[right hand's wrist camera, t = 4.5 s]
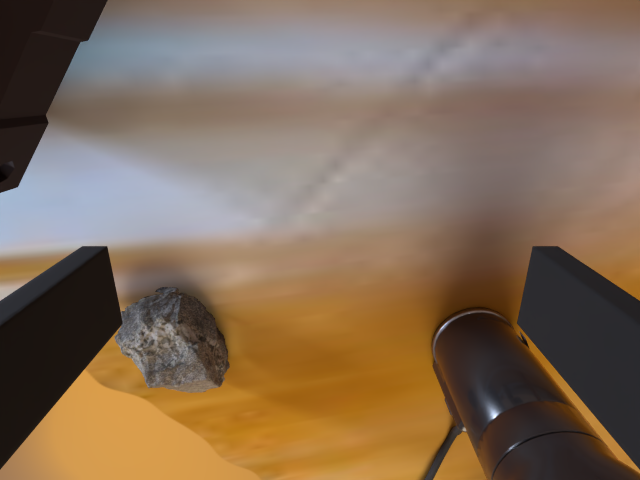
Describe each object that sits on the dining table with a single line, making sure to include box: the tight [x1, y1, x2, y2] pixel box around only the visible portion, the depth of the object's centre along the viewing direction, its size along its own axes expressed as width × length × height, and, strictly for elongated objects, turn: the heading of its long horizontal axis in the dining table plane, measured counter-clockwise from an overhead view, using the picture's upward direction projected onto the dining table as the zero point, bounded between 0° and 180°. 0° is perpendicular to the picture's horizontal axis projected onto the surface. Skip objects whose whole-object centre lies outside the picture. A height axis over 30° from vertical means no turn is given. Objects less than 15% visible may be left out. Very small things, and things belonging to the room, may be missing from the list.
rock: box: [115, 287, 229, 393], centre depth 42 cm, size 13×9×6 cm, turn 45°
